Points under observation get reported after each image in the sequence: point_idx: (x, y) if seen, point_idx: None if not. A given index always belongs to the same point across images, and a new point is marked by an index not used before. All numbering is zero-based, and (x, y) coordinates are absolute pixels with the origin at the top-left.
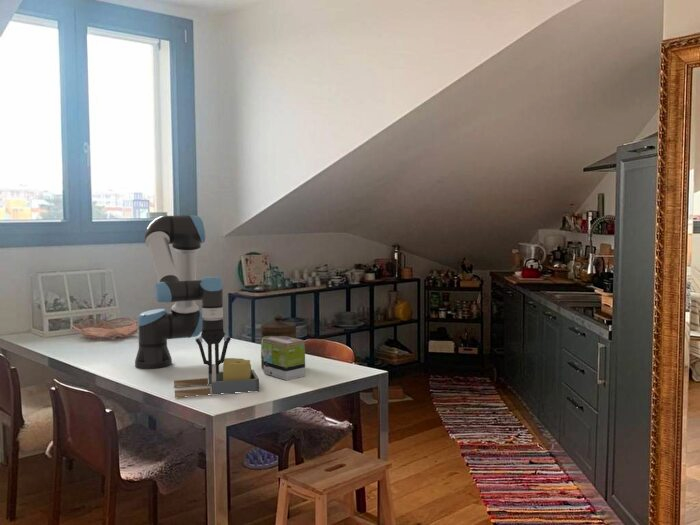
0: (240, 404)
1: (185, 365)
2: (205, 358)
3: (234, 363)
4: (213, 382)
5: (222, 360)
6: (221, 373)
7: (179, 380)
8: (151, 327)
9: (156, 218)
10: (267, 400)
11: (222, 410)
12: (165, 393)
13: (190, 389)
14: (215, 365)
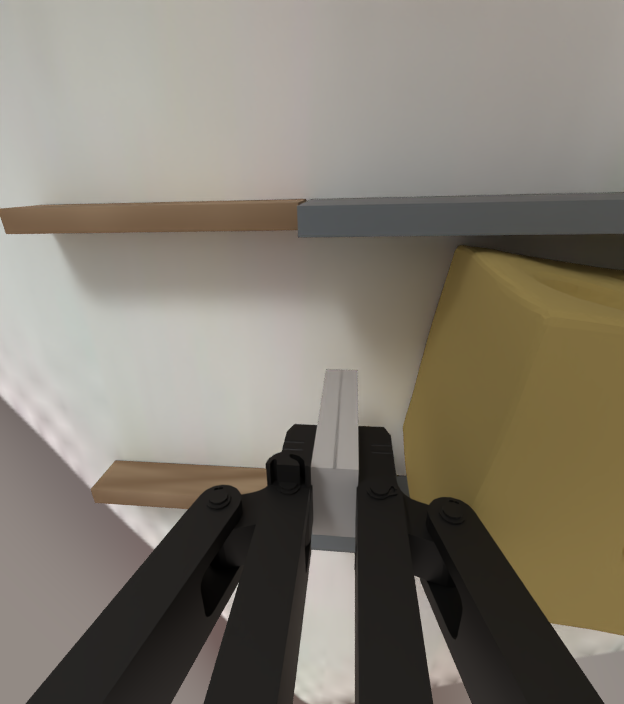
0: (439, 649)
1: None
2: (214, 614)
3: (581, 602)
4: (325, 549)
5: (448, 593)
6: (440, 234)
7: (49, 229)
8: None
9: None
10: (586, 644)
11: (349, 681)
12: (37, 366)
13: (184, 503)
14: (353, 531)
